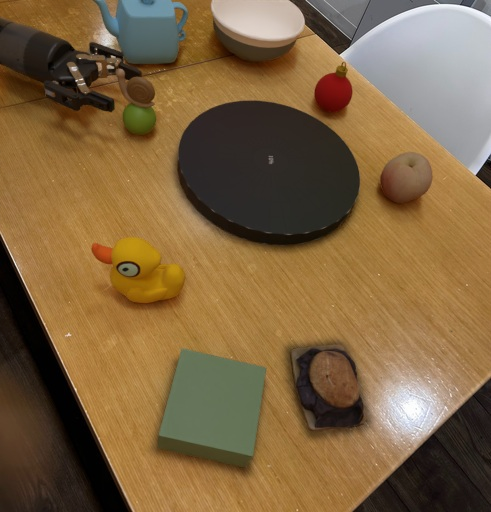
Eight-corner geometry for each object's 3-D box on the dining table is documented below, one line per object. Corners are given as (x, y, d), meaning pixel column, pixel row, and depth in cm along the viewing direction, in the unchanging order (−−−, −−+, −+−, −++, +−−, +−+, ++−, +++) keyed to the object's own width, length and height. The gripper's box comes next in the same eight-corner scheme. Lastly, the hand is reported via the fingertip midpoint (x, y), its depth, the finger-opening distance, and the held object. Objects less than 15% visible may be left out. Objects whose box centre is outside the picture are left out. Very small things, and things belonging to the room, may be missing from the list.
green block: (156, 448, 55) (158, 435, 51) (178, 365, 61) (181, 347, 57) (244, 467, 55) (253, 456, 51) (258, 383, 61) (266, 367, 57)
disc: (379, 239, 78) (387, 227, 76) (191, 252, 71) (193, 239, 68) (324, 114, 95) (329, 101, 92) (166, 113, 87) (167, 99, 85)
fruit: (368, 176, 87) (387, 141, 80) (410, 178, 88) (431, 144, 82) (380, 211, 82) (400, 177, 76) (424, 213, 84) (447, 179, 77)
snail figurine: (123, 115, 85) (121, 51, 75) (160, 125, 85) (162, 63, 75) (112, 135, 82) (108, 71, 72) (150, 145, 82) (151, 83, 72)
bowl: (271, 22, 111) (280, -16, 104) (310, 72, 102) (322, 35, 95) (193, 28, 104) (196, -12, 97) (227, 82, 95) (233, 43, 88)
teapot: (87, 32, 97) (82, -28, 88) (178, 32, 102) (182, -25, 93) (96, 71, 90) (91, 10, 81) (192, 69, 96) (197, 11, 87)
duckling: (91, 302, 64) (84, 257, 56) (101, 267, 67) (96, 220, 59) (179, 314, 65) (184, 272, 57) (185, 280, 68) (191, 236, 60)
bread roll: (285, 350, 64) (292, 337, 61) (345, 345, 66) (355, 333, 63) (304, 433, 58) (312, 423, 55) (369, 425, 60) (381, 415, 57)
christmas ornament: (350, 120, 95) (369, 75, 87) (315, 120, 93) (332, 74, 85) (338, 96, 99) (356, 51, 91) (305, 96, 97) (320, 49, 89)
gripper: (2, 55, 72) (102, 95, 71) (59, 13, 80) (149, 48, 79) (13, 98, 78) (105, 136, 77) (64, 54, 86) (148, 88, 85)
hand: (127, 91), depth 78 cm, fingers open, 8 cm apart
